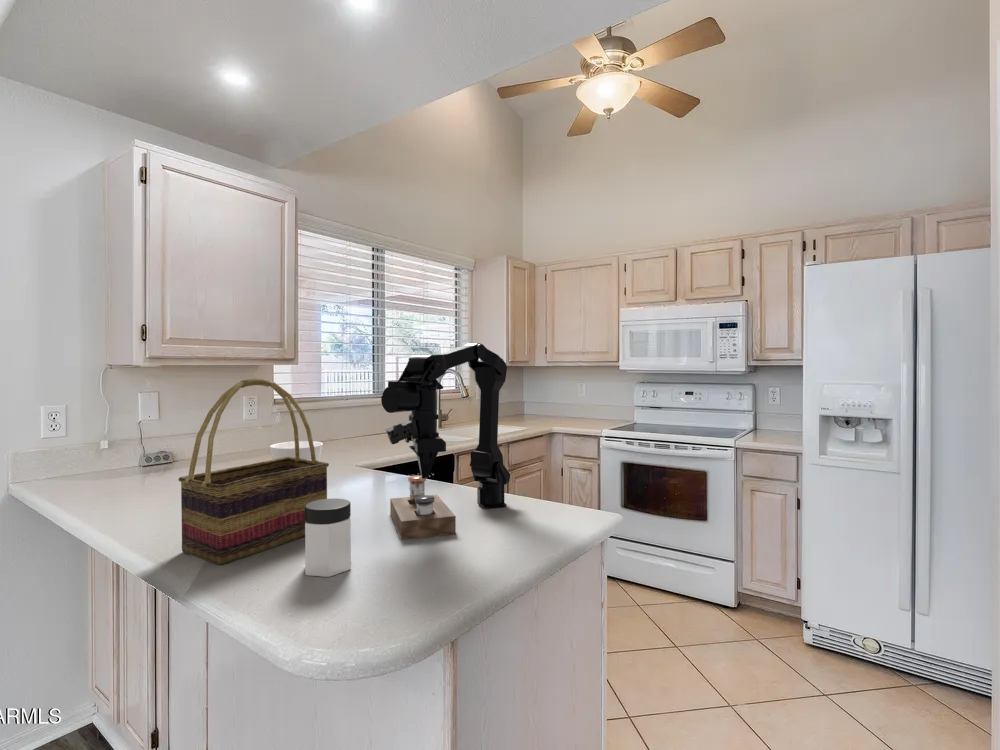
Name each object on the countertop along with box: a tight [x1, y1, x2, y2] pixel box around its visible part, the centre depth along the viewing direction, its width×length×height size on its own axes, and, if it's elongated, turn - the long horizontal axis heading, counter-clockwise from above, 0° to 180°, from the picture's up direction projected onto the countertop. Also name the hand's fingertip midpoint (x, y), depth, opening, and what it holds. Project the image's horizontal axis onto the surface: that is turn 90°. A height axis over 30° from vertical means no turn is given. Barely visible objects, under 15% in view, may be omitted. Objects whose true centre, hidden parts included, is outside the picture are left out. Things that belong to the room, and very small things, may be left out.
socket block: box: [389, 494, 457, 541], centre depth 121 cm, size 12×20×4 cm, turn 19°
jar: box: [304, 497, 352, 578], centre depth 94 cm, size 9×8×12 cm
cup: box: [269, 440, 324, 462], centre depth 141 cm, size 14×14×16 cm
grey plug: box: [415, 494, 434, 516], centre depth 116 cm, size 4×4×7 cm
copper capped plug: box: [407, 474, 427, 504], centre depth 125 cm, size 4×4×7 cm
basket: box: [177, 377, 330, 566], centre depth 109 cm, size 26×15×35 cm, turn 150°
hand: (424, 477), depth 116 cm, fingers closed
